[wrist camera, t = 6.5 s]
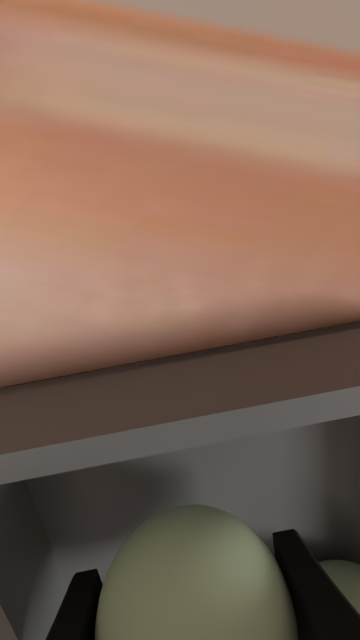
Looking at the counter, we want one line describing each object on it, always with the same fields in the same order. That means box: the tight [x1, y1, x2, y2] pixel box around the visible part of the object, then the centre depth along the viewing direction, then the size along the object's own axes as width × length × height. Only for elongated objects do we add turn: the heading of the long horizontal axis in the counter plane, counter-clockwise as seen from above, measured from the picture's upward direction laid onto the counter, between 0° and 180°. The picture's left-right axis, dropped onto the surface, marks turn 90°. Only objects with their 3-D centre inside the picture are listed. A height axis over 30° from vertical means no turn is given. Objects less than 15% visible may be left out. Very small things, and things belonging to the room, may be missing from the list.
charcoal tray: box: [0, 322, 360, 640], centre depth 12 cm, size 15×15×4 cm
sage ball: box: [95, 504, 298, 640], centre depth 9 cm, size 5×5×5 cm
